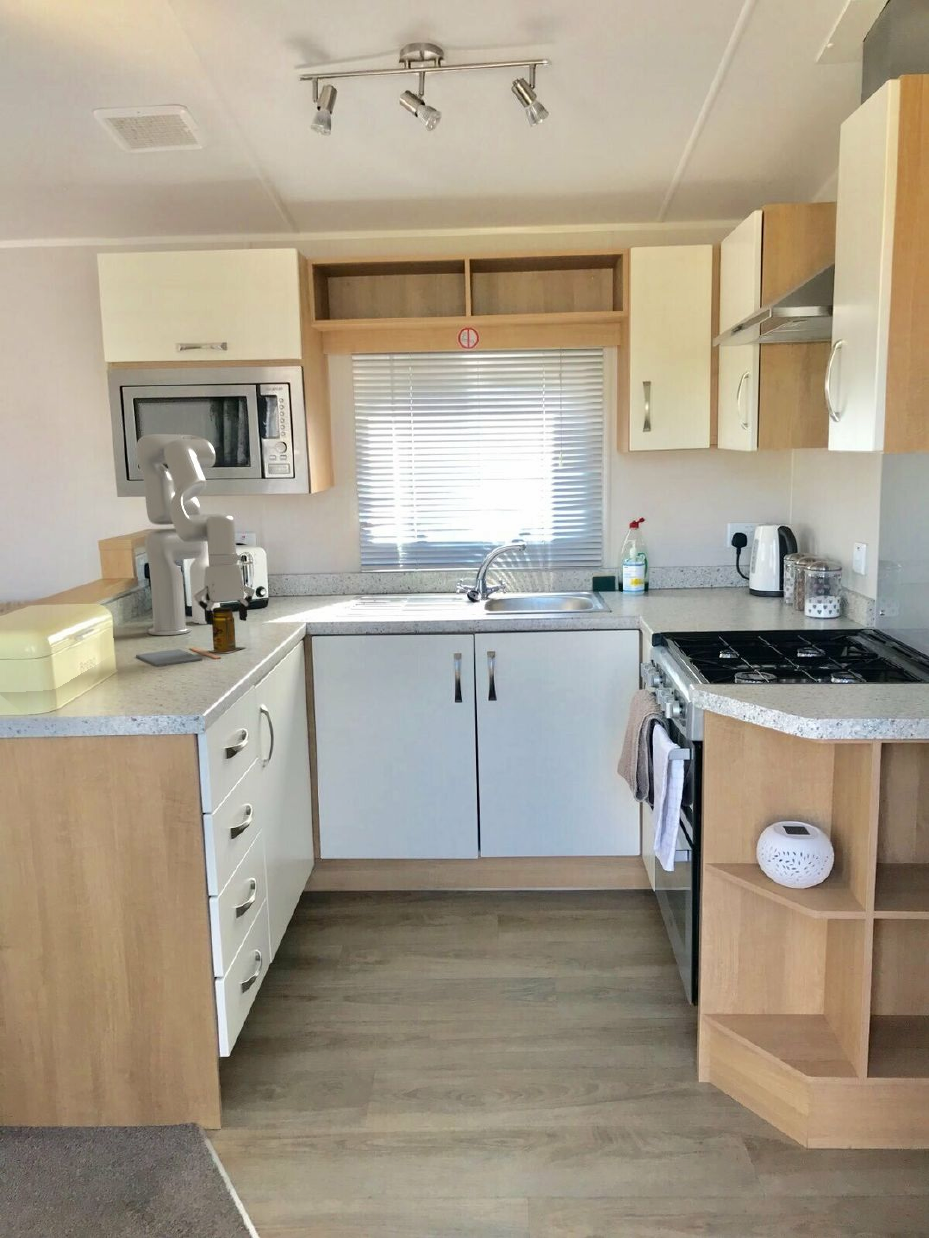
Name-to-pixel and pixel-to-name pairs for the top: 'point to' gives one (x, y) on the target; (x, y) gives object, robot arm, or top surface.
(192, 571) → the alcohol
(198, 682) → the top surface
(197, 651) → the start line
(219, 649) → the condiment
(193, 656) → the mat
